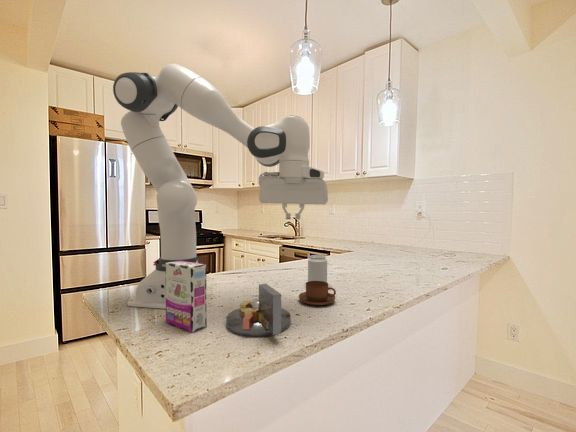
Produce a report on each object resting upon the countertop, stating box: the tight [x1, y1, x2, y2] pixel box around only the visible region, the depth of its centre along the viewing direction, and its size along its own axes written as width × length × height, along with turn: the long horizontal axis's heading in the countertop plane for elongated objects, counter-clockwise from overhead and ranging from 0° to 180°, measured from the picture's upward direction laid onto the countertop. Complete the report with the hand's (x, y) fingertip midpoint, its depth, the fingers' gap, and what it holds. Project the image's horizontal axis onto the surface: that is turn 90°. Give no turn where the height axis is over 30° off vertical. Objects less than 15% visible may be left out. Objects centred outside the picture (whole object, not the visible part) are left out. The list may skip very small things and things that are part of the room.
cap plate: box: [225, 298, 291, 338], centre depth 79 cm, size 17×17×6 cm
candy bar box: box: [165, 261, 208, 333], centre depth 78 cm, size 11×5×16 cm, turn 56°
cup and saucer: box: [298, 281, 337, 306], centre depth 97 cm, size 12×12×6 cm
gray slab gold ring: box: [238, 283, 282, 336], centre depth 75 cm, size 18×10×9 cm, turn 24°
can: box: [307, 254, 328, 283], centre depth 115 cm, size 8×8×12 cm
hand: (292, 219), depth 88 cm, fingers closed
